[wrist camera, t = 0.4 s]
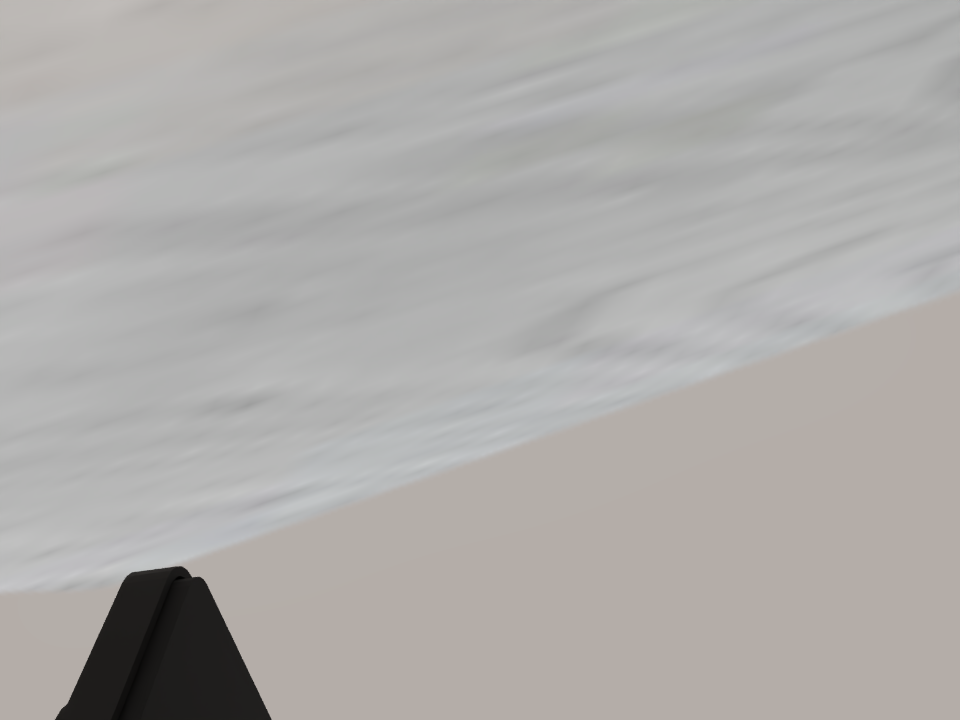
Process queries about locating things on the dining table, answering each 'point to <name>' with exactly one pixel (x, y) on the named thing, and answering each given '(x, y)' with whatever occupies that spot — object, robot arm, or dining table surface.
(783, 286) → the dining table surface
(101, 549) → the dining table surface
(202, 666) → the robot arm
